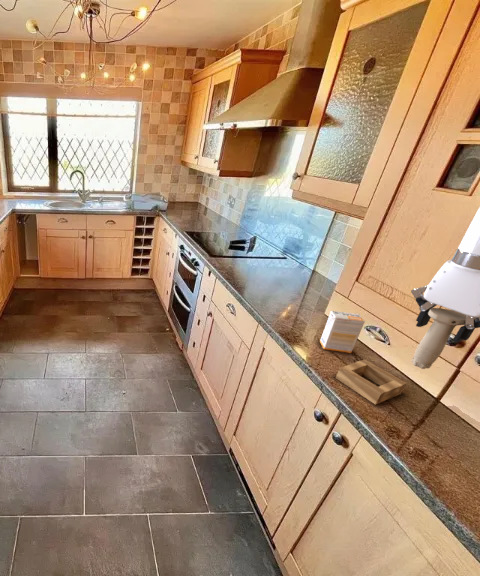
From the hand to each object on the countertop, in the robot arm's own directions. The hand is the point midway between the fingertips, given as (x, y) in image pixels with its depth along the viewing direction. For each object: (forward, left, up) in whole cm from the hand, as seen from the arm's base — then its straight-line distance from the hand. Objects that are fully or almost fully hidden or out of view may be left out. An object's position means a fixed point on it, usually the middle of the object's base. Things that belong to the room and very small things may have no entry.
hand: (439, 332), depth 72 cm
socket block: (-2, -8, -25) cm, 26 cm away
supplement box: (-11, -24, -25) cm, 37 cm away
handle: (0, 0, -10) cm, 10 cm away
